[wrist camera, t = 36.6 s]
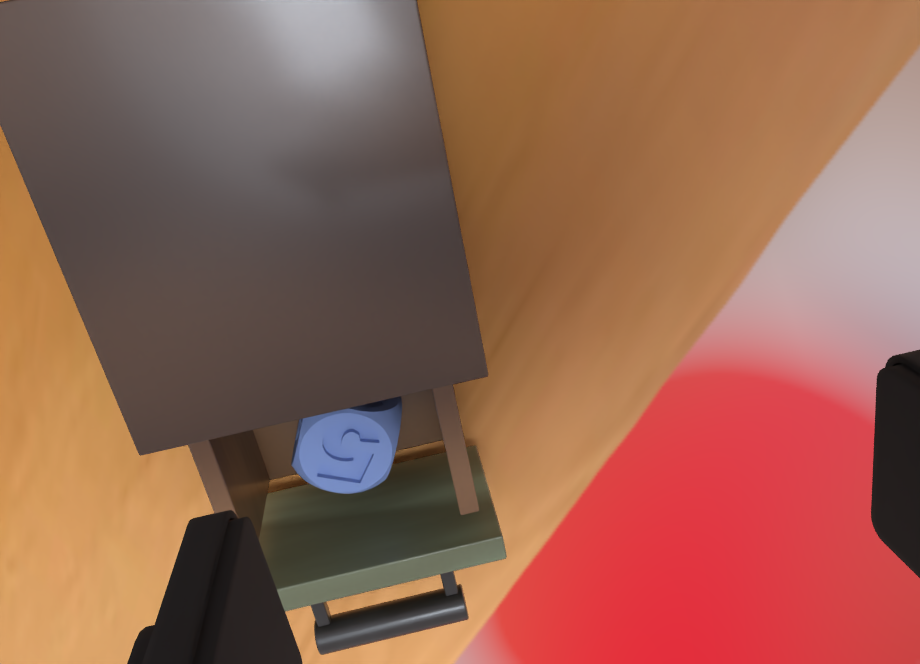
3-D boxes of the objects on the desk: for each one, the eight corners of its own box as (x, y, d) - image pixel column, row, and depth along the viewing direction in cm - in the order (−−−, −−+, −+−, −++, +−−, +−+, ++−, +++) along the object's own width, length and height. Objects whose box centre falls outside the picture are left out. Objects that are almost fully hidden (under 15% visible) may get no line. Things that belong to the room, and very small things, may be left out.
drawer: (496, 542, 40) (525, 647, 33) (284, 592, 40) (270, 709, 33) (426, 205, 33) (445, 253, 26) (165, 262, 32) (116, 325, 25)
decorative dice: (294, 437, 35) (287, 486, 31) (312, 360, 34) (307, 402, 30) (379, 452, 36) (382, 501, 32) (399, 378, 34) (405, 420, 31)
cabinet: (457, 292, 35) (489, 376, 27) (190, 351, 35) (138, 456, 26) (388, -50, 30) (402, -78, 21) (67, 14, 29) (-49, 11, 21)
